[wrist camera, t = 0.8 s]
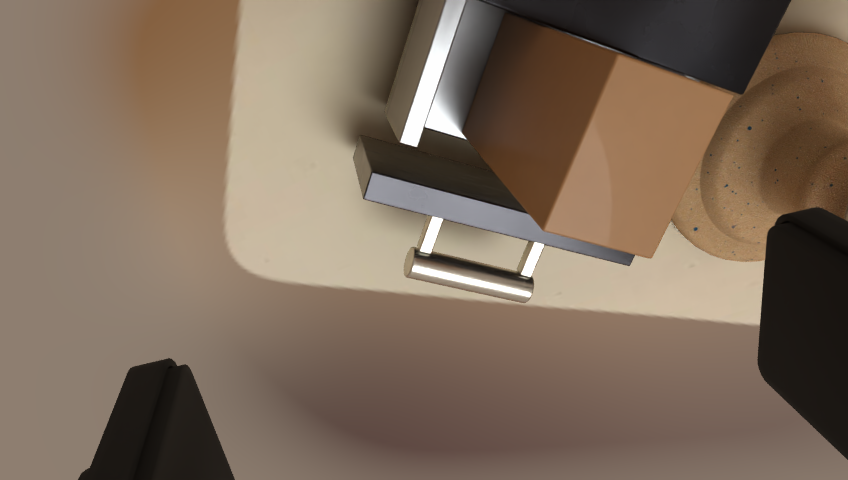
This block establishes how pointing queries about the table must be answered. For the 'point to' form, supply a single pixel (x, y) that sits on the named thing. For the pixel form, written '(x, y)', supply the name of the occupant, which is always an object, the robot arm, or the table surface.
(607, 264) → the table surface
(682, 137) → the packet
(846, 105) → the candle holder
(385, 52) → the table surface
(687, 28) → the black drawer housing
